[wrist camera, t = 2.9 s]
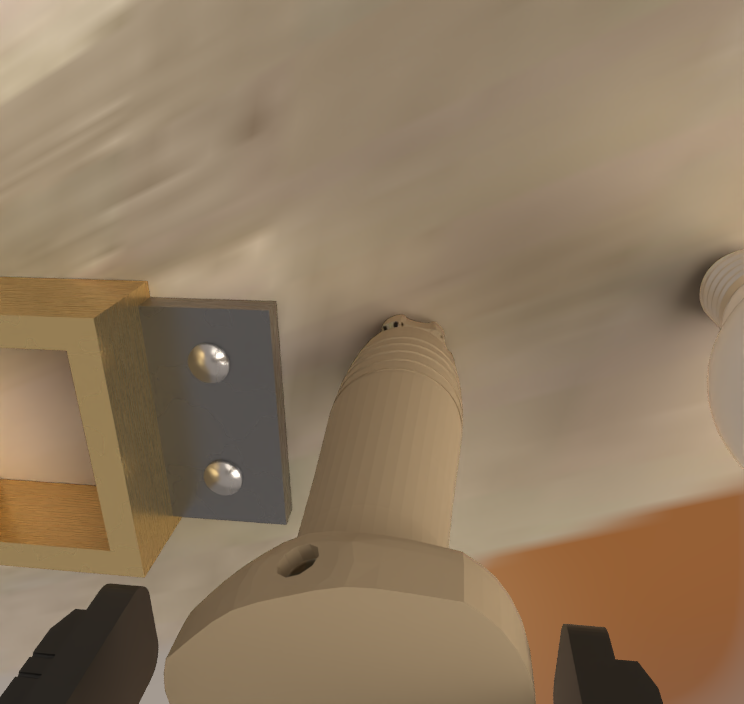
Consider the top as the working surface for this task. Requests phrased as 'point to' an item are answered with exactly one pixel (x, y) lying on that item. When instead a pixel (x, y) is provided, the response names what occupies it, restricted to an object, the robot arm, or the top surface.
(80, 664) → the robot arm
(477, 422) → the top surface
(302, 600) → the handle
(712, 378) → the lightbulb
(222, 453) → the wooden frame on plate
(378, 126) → the top surface
